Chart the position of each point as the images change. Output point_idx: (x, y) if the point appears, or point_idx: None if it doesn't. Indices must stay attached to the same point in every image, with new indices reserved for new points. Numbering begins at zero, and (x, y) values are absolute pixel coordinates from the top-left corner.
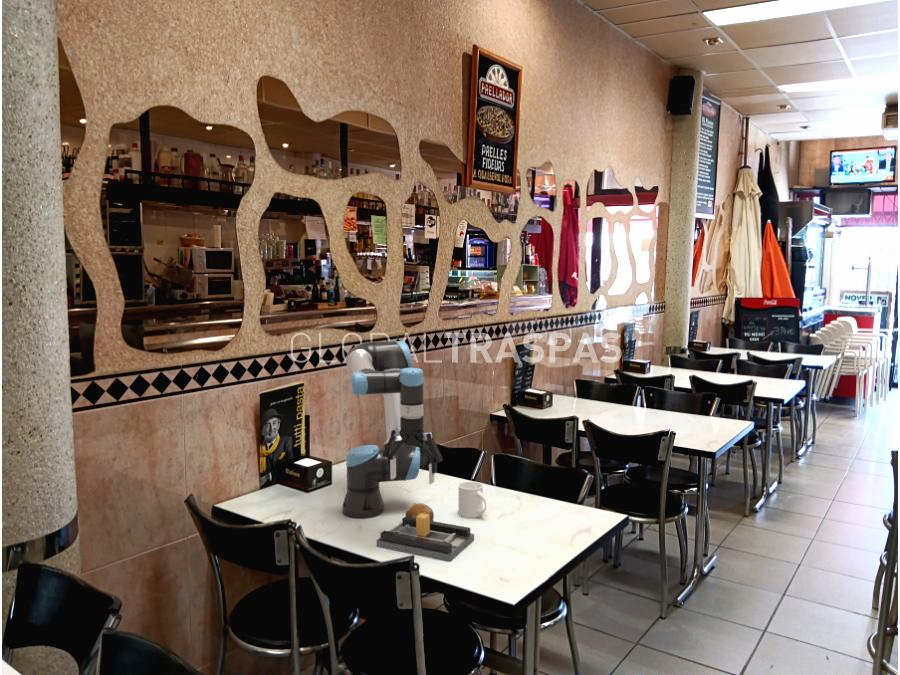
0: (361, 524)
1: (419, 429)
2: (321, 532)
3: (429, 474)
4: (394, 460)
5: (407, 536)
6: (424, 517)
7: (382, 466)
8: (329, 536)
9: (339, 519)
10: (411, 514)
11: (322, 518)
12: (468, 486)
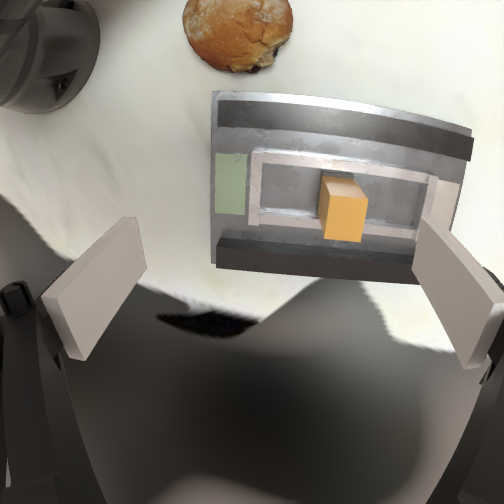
0: (92, 136)
1: None
2: (55, 227)
3: (437, 308)
4: (77, 317)
5: (307, 264)
6: (357, 233)
7: None
8: (81, 240)
9: (35, 138)
10: (222, 59)
11: (9, 155)
12: None
